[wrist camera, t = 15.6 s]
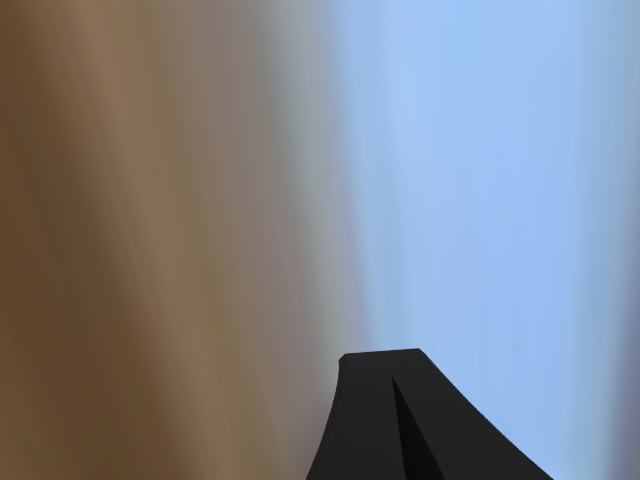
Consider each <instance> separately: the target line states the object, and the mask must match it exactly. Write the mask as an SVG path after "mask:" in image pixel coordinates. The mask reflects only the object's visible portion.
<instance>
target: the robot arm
mask: <svg viewBox="0 0 640 480" xmlns="http://www.w3.org/2000/svg"><path fill="white" fill-rule="evenodd" d="M306 480H554V479H552V478H551V477H550V476H549V475H548V474H547V473H545V472H544V471H543V470H542V469H541V468H540V467H539V466H537V465H536V464H535V463H534V462H533V461H532V460H530V459H529V458H528V457H527V456H526V455H525V454H524V453H522V452H521V451H520V450H519V449H518V448H517V447H516V446H515V445H514V444H513V443H512V442H510V441H509V440H508V439H507V438H506V437H505V436H504V435H503V434H502V433H501V432H500V431H499V430H498V429H497V428H496V427H495V426H494V425H493V424H492V423H490V422H489V421H488V420H487V419H486V418H485V417H484V416H483V415H482V414H481V413H480V412H479V411H478V410H477V409H476V408H475V407H474V406H473V405H472V404H471V403H470V402H469V401H468V400H467V399H466V398H465V397H464V396H463V395H462V394H461V392H460V391H459V390H458V389H457V388H456V387H455V386H454V385H453V384H452V383H451V382H450V381H449V380H448V379H447V378H446V376H445V375H444V374H443V373H442V372H441V371H440V370H439V369H438V368H437V367H436V365H435V364H434V363H433V362H432V361H431V360H430V359H429V358H428V356H427V355H426V354H425V353H424V352H423V351H421V350H420V349H419V348H416V349H402V350H389V351H375V352H361V353H348V354H344V355H343V356H342V357H341V358H340V359H339V374H338V382H337V387H336V392H335V396H334V400H333V405H332V408H331V412H330V415H329V418H328V421H327V424H326V427H325V431H324V434H323V437H322V440H321V443H320V446H319V448H318V451H317V453H316V456H315V458H314V461H313V463H312V466H311V468H310V471H309V473H308V475H307V478H306Z"/></svg>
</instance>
